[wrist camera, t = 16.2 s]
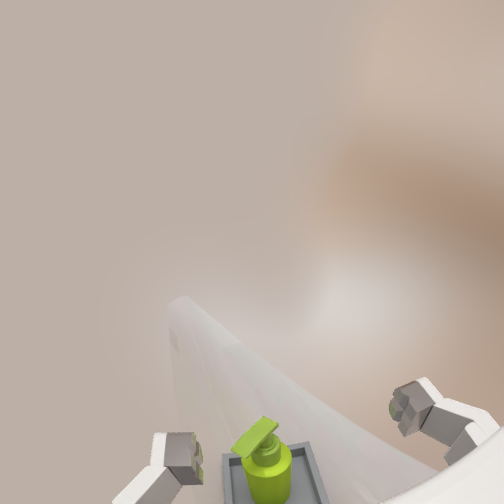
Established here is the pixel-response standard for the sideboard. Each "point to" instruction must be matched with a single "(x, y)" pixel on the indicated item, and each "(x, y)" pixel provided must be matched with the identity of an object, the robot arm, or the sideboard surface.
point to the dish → (302, 478)
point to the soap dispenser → (265, 463)
